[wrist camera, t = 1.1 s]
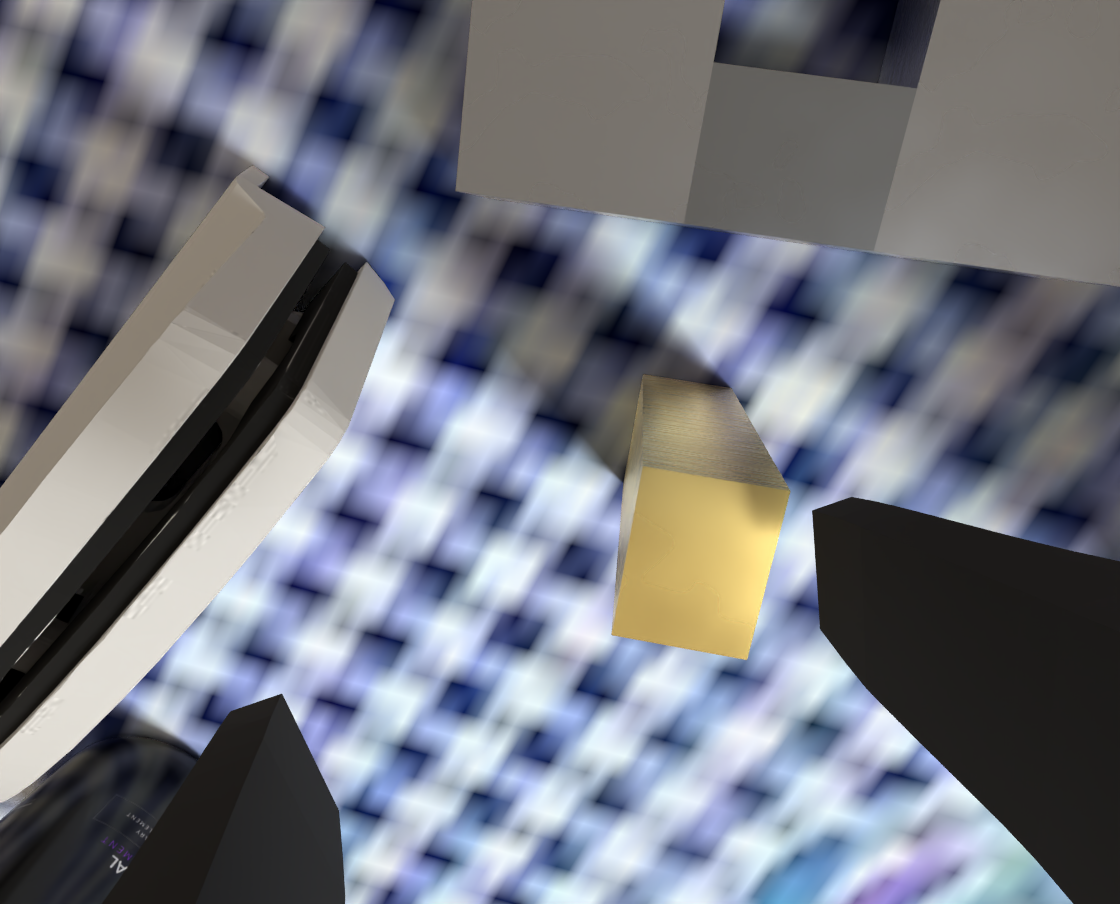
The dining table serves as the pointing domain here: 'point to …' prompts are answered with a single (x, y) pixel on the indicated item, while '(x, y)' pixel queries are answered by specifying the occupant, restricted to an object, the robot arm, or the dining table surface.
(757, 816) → the dining table surface
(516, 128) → the grey slotted plate
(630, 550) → the wood grain block
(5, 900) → the supplement bottle
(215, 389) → the white angular device
